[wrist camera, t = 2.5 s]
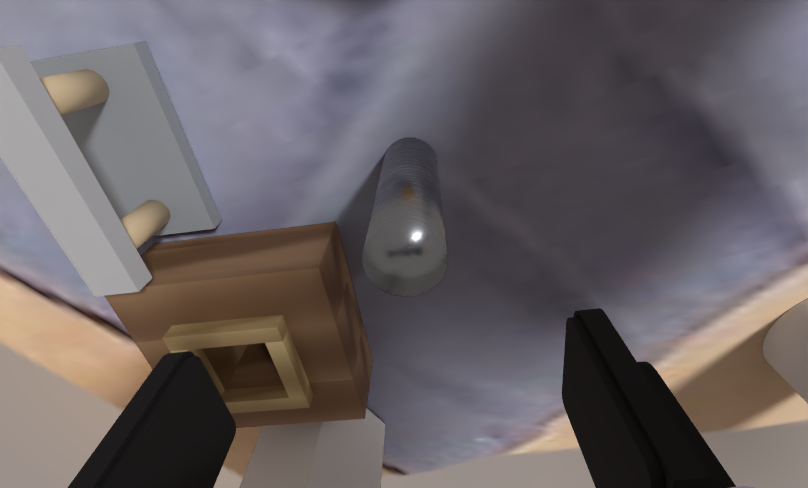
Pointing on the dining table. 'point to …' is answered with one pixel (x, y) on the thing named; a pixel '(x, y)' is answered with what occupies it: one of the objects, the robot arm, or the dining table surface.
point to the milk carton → (318, 455)
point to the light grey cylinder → (790, 347)
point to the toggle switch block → (259, 321)
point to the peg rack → (101, 158)
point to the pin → (406, 223)
